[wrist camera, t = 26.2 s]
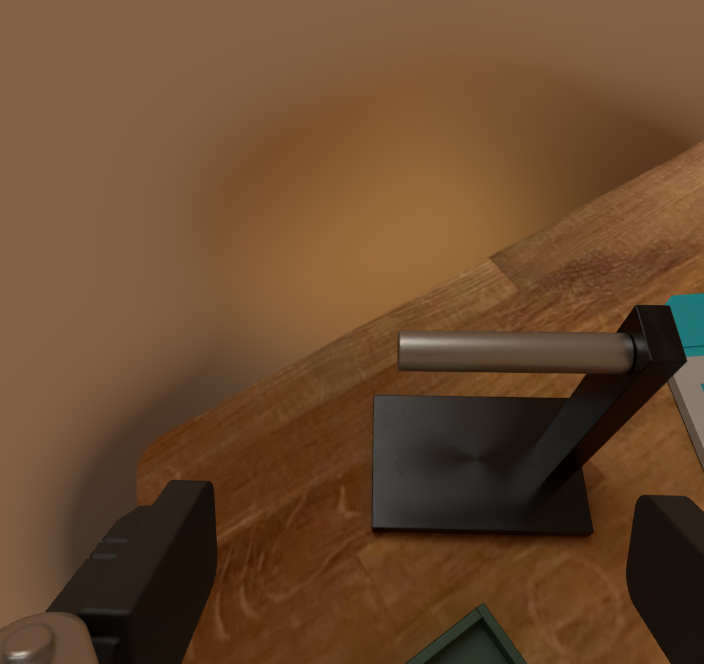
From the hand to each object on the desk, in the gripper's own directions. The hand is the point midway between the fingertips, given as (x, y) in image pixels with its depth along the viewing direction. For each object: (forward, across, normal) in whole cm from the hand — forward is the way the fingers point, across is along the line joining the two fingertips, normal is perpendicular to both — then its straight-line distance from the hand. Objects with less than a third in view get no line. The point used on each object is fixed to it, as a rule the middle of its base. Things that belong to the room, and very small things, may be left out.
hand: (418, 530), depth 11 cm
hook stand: (+29, -7, +13) cm, 33 cm away
